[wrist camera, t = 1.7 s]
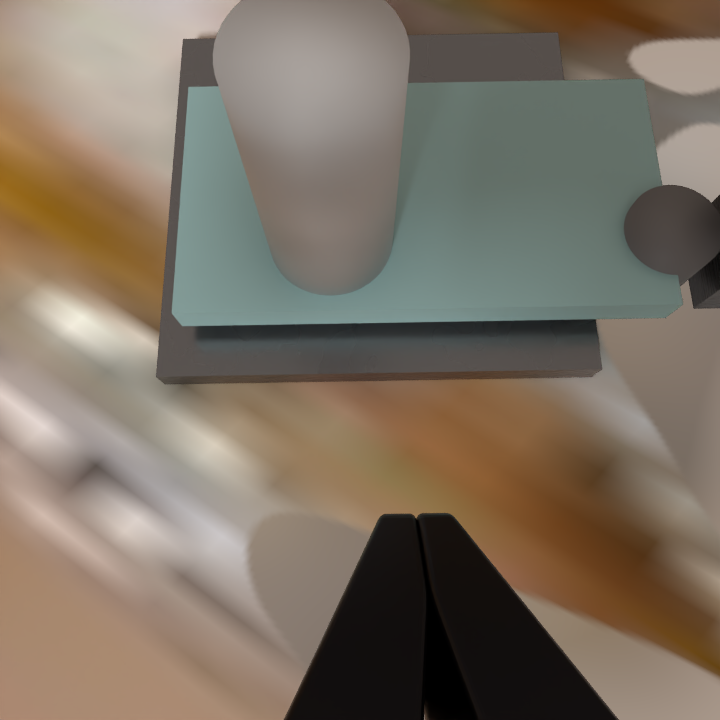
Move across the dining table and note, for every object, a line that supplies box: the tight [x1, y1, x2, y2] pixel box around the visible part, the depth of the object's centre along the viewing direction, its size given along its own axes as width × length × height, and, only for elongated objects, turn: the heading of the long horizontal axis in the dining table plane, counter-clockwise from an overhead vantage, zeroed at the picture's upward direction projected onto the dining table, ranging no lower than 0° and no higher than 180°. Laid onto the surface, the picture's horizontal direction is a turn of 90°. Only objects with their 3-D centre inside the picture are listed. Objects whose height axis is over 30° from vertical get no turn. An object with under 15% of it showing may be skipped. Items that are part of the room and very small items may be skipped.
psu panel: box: [156, 33, 720, 384], centre depth 22 cm, size 14×22×5 cm, turn 91°
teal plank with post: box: [172, 0, 720, 326], centre depth 18 cm, size 8×18×11 cm, turn 91°
